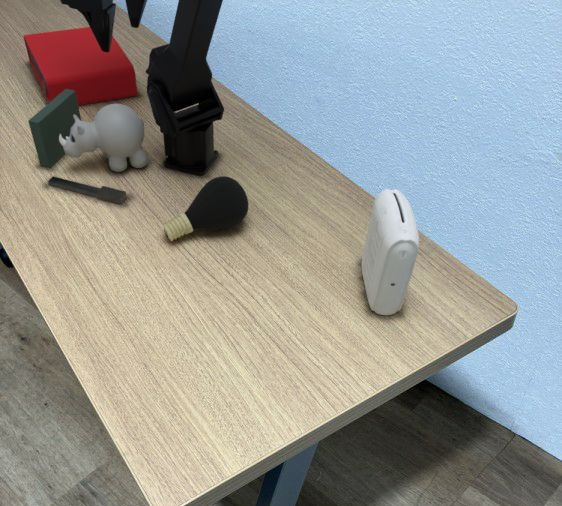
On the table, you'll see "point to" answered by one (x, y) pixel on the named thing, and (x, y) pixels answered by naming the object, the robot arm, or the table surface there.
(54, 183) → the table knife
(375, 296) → the photo printer
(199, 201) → the light bulb
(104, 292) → the table surface
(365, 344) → the table surface
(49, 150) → the backboard
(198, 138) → the robot arm
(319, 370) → the table surface
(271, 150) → the table surface
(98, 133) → the chubby cartoon animal
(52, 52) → the audio interface
